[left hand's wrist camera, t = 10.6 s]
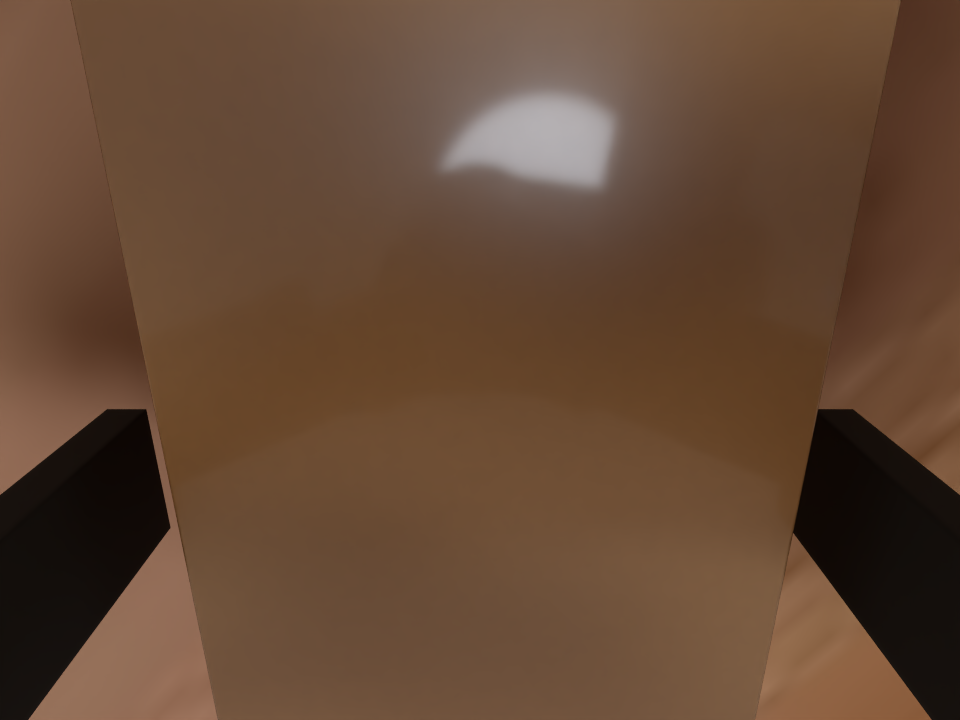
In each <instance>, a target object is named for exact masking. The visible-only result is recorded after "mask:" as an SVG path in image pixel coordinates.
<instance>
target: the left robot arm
mask: <svg viewBox="0 0 960 720" xmlns="http://www.w3.org/2000/svg"><path fill="white" fill-rule="evenodd" d="M169 529H170V523H169V518H168V513H167V508H166V503H165V499H164V494H163V489H162V484H161V479H160V474H159V469H158V464H157V459H156V455H155V450H154V445H153V440H152V435H151V430H150V425H149V420H148V415H147V411H146V409H107V410H106V411H104V412H103V413H102V414H101V415H99V416H98V417H97V418H96V419H94V420H93V421H92V422H91V423H89V424H88V425H87V426H86V427H84V428H83V429H82V430H81V431H79V432H78V433H77V434H76V435H75V436H73V437H72V438H71V439H70V440H68V441H67V442H66V443H65V444H63V445H62V446H61V447H60V448H58V449H57V450H56V451H55V452H53V453H52V454H51V455H50V456H48V457H47V458H46V459H45V460H43V461H42V462H41V463H40V464H38V465H37V466H36V467H35V468H33V469H32V470H31V471H30V472H28V473H27V474H26V475H25V476H23V477H22V478H21V479H20V480H18V481H17V482H16V483H15V484H13V485H12V486H11V487H10V488H8V489H7V490H6V491H5V492H3V493H2V494H1V495H0V720H28V719H29V718H30V717H31V715H32V714H33V712H34V711H35V710H36V708H37V707H38V706H39V704H40V703H41V702H42V700H43V699H44V698H45V696H46V695H47V694H48V692H49V691H50V690H51V688H52V687H53V686H54V684H55V683H56V681H57V680H58V679H59V677H60V676H61V675H62V673H63V672H64V671H65V669H66V668H67V667H68V665H69V664H70V663H71V661H72V660H73V659H74V657H75V656H76V654H77V653H78V652H79V650H80V649H81V648H82V646H83V645H84V644H85V642H86V641H87V640H88V638H89V637H90V636H91V634H92V633H93V632H94V630H95V629H96V627H97V626H98V625H99V623H100V622H101V621H102V619H103V618H104V617H105V615H106V614H107V613H108V611H109V610H110V609H111V607H112V606H113V605H114V603H115V602H116V601H117V599H118V598H119V596H120V595H121V594H122V592H123V591H124V590H125V588H126V587H127V586H128V584H129V583H130V582H131V580H132V579H133V578H134V576H135V575H136V574H137V572H138V571H139V569H140V568H141V567H142V565H143V564H144V563H145V561H146V560H147V559H148V557H149V556H150V555H151V553H152V552H153V551H154V549H155V548H156V547H157V545H158V544H159V542H160V541H161V540H162V538H163V537H164V536H165V534H166V533H167V532H168V530H169ZM793 533H794V534H795V536H796V537H797V538H798V540H799V541H800V542H801V544H802V545H803V547H804V548H805V549H806V551H807V552H808V553H809V555H810V556H811V557H812V559H813V560H814V561H815V563H816V564H817V565H818V567H819V568H820V569H821V571H822V572H823V574H824V575H825V576H826V578H827V579H828V580H829V582H830V583H831V584H832V586H833V587H834V588H835V590H836V591H837V592H838V594H839V595H840V596H841V598H842V599H843V601H844V602H845V603H846V605H847V606H848V607H849V609H850V610H851V611H852V613H853V614H854V615H855V617H856V618H857V619H858V621H859V622H860V623H861V625H862V626H863V627H864V629H865V630H866V632H867V633H868V634H869V636H870V637H871V638H872V640H873V641H874V642H875V644H876V645H877V646H878V648H879V649H880V650H881V652H882V653H883V654H884V656H885V657H886V659H887V660H888V661H889V663H890V664H891V665H892V667H893V668H894V669H895V671H896V672H897V673H898V675H899V676H900V677H901V679H902V680H903V681H904V683H905V684H906V686H907V687H908V688H909V690H910V691H911V692H912V694H913V695H914V696H915V698H916V699H917V700H918V702H919V703H920V704H921V706H922V707H923V708H924V710H925V711H926V713H927V714H928V715H929V717H930V718H931V719H932V720H960V495H959V494H958V493H957V492H955V491H954V490H953V489H952V488H950V487H949V486H948V485H947V484H945V483H944V482H943V481H942V480H940V479H939V478H938V477H937V476H935V475H934V474H933V473H932V472H930V471H929V470H928V469H927V468H925V467H924V466H923V465H922V464H920V463H919V462H918V461H917V460H915V459H914V458H913V457H912V456H910V455H909V454H908V453H907V452H905V451H904V450H903V449H902V448H900V447H899V446H898V445H897V444H895V443H894V442H893V441H892V440H890V439H889V438H888V437H887V436H885V435H884V434H883V433H882V432H881V431H879V430H878V429H877V428H876V427H874V426H873V425H872V424H871V423H869V422H868V421H867V420H866V419H864V418H863V417H862V416H861V415H859V414H858V413H857V412H856V411H854V410H853V409H818V412H817V417H816V422H815V427H814V432H813V436H812V441H811V446H810V451H809V456H808V461H807V466H806V471H805V476H804V481H803V486H802V491H801V496H800V500H799V505H798V510H797V515H796V520H795V525H794V530H793Z"/></svg>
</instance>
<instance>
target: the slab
mask: <svg viewBox="0 0 960 720" xmlns="http://www.w3.org/2000/svg"><path fill="white" fill-rule="evenodd" d="M900 3H901V0H71V5H72V9H73V14H74V19H75V24H76V29H77V34H78V39H79V44H80V48H81V53H82V58H83V63H84V68H85V73H86V78H87V83H88V88H89V92H90V97H91V102H92V107H93V112H94V117H95V122H96V127H97V131H98V136H99V141H100V146H101V151H102V156H103V161H104V166H105V171H106V175H107V180H108V185H109V190H110V195H111V200H112V205H113V210H114V215H115V219H116V224H117V229H118V234H119V239H120V244H121V249H122V254H123V258H124V263H125V268H126V273H127V278H128V283H129V288H130V293H131V298H132V302H133V307H134V312H135V317H136V322H137V327H138V332H139V337H140V341H141V346H142V351H143V356H144V361H145V366H146V371H147V376H148V381H149V385H150V390H151V395H152V400H153V405H154V410H155V415H156V420H157V424H158V429H159V434H160V439H161V444H162V449H163V454H164V459H165V464H166V468H167V473H168V478H169V483H170V488H171V493H172V498H173V503H174V507H175V512H176V517H177V522H178V527H179V532H180V537H181V542H182V547H183V551H184V556H185V561H186V566H187V571H188V576H189V581H190V586H191V590H192V595H193V600H194V605H195V610H196V615H197V620H198V625H199V630H200V634H201V639H202V644H203V649H204V654H205V659H206V664H207V669H208V673H209V678H210V683H211V688H212V693H213V698H214V703H215V708H216V713H217V717H218V720H755V717H756V712H757V707H758V702H759V698H760V693H761V688H762V683H763V678H764V673H765V668H766V663H767V658H768V653H769V648H770V643H771V638H772V633H773V629H774V624H775V619H776V614H777V609H778V604H779V599H780V594H781V589H782V584H783V579H784V574H785V569H786V565H787V560H788V555H789V550H790V545H791V540H792V535H793V530H794V525H795V520H796V515H797V510H798V505H799V500H800V496H801V491H802V486H803V481H804V476H805V471H806V466H807V461H808V456H809V451H810V446H811V441H812V436H813V432H814V427H815V422H816V417H817V412H818V407H819V402H820V397H821V392H822V387H823V382H824V377H825V372H826V367H827V363H828V358H829V353H830V348H831V343H832V338H833V333H834V328H835V323H836V318H837V313H838V308H839V303H840V298H841V294H842V289H843V284H844V279H845V274H846V269H847V264H848V259H849V254H850V249H851V244H852V239H853V234H854V230H855V225H856V220H857V215H858V210H859V205H860V200H861V195H862V190H863V185H864V180H865V175H866V170H867V165H868V161H869V156H870V151H871V146H872V141H873V136H874V131H875V126H876V121H877V116H878V111H879V106H880V101H881V97H882V92H883V87H884V82H885V77H886V72H887V67H888V62H889V57H890V52H891V47H892V42H893V37H894V32H895V28H896V23H897V18H898V13H899V8H900Z"/></svg>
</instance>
